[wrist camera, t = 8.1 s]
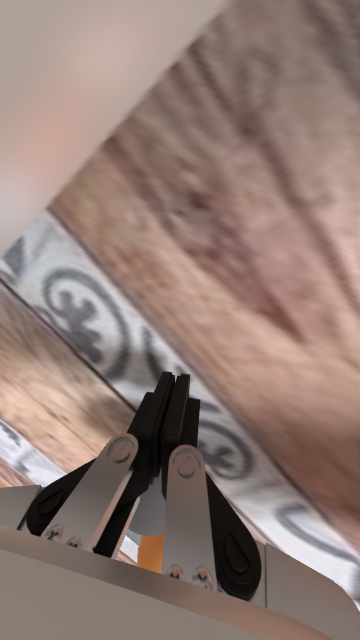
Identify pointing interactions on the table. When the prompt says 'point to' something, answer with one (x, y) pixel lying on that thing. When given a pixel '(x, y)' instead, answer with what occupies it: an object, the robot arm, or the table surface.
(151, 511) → the dark grey ball
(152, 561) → the orange ball
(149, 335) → the table surface
